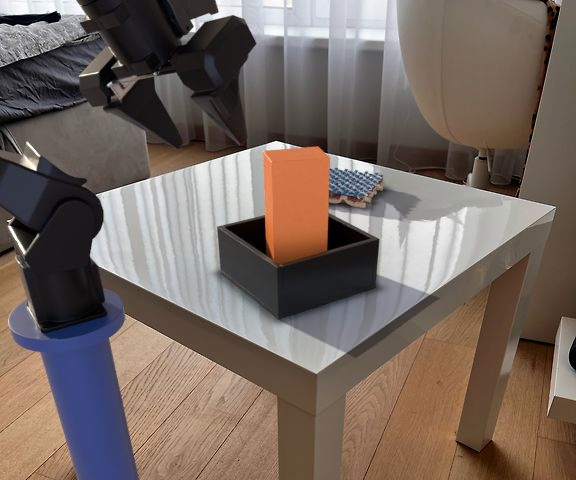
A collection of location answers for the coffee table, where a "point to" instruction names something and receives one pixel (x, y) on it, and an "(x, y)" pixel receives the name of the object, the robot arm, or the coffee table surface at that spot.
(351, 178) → the woven mat
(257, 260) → the bin
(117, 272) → the coffee table surface
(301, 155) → the block
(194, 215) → the coffee table surface
